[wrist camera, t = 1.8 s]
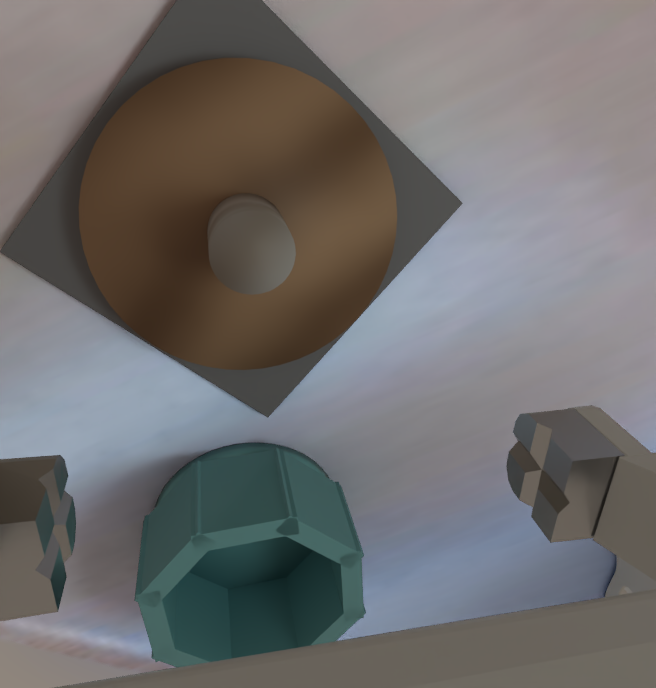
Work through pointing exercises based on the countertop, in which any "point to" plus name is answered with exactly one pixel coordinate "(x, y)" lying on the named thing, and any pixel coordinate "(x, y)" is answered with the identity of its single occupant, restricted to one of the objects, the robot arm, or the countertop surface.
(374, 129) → the mat
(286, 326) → the lid
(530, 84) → the countertop surface
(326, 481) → the bowl
